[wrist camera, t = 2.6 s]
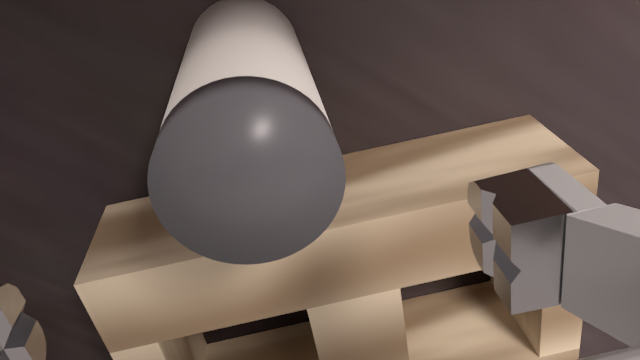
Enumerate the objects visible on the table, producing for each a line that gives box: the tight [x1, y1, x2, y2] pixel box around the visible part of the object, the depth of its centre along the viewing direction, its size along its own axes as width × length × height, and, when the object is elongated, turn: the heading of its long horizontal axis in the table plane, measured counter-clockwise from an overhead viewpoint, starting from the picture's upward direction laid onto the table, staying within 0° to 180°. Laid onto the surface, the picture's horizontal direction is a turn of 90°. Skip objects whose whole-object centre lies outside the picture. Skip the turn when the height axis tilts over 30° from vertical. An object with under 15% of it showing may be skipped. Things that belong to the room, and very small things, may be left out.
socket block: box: [73, 115, 599, 360], centre depth 21 cm, size 12×18×9 cm, turn 100°
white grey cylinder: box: [147, 0, 346, 265], centre depth 15 cm, size 4×4×10 cm
